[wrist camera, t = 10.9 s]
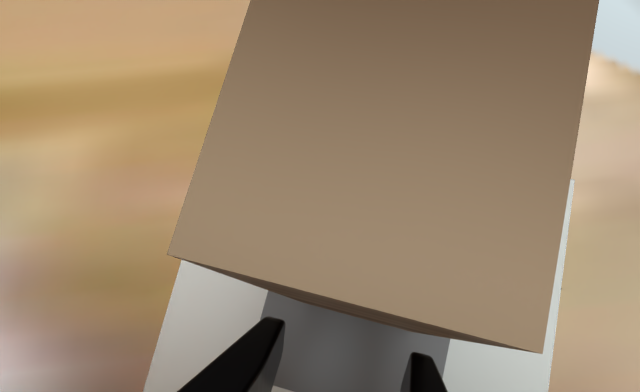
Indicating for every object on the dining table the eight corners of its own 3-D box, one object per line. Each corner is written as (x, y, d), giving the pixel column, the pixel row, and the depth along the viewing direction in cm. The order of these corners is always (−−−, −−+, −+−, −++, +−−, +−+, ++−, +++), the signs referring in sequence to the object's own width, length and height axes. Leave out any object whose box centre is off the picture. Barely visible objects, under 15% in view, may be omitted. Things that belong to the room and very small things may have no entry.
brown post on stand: (420, 415, 15) (649, 766, 3) (261, 368, 16) (-54, 512, 4) (471, 165, 17) (747, -227, 5) (326, 133, 18) (250, -282, 6)
